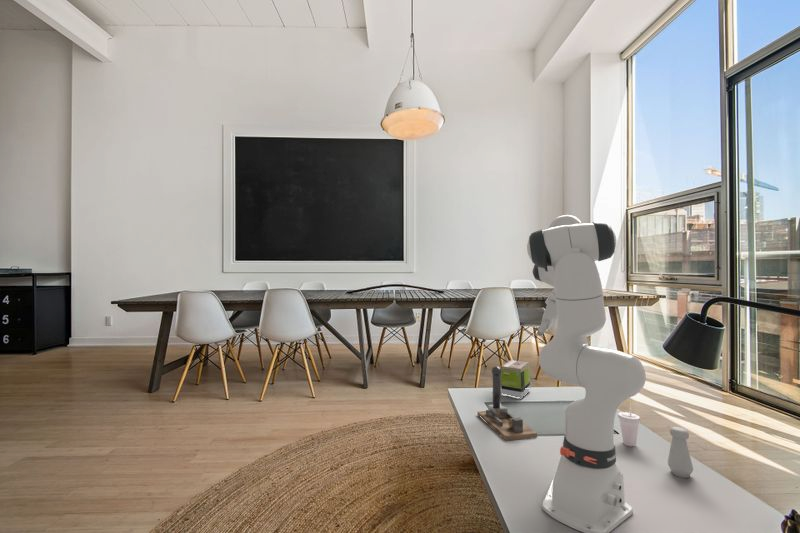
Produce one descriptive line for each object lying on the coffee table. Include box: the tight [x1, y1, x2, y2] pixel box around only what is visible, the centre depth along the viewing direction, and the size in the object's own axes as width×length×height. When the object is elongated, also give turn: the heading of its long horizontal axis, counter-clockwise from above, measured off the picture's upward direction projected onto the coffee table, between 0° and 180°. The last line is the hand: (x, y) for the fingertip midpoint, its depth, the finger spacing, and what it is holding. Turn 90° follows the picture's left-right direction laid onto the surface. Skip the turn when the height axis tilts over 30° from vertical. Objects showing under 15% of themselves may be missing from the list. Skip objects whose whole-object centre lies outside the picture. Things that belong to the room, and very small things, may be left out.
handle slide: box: [487, 365, 508, 418], centre depth 141 cm, size 6×5×19 cm
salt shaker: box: [667, 426, 694, 479], centre depth 102 cm, size 6×6×13 cm
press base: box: [477, 409, 538, 442], centre depth 135 cm, size 23×12×6 cm, turn 13°
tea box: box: [500, 359, 531, 398], centre depth 172 cm, size 15×10×15 cm, turn 144°
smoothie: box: [617, 402, 641, 447], centre depth 120 cm, size 6×6×14 cm
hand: (539, 333), depth 136 cm, fingers open, 8 cm apart
